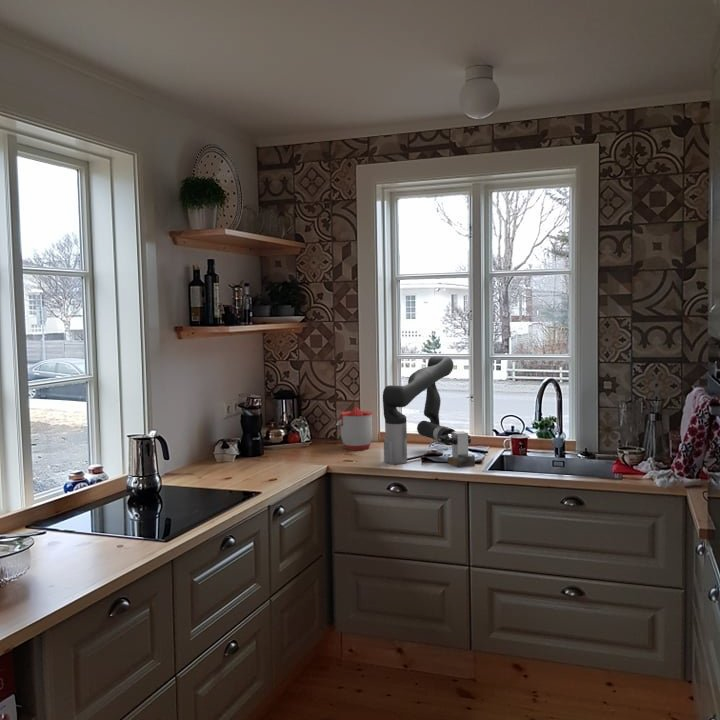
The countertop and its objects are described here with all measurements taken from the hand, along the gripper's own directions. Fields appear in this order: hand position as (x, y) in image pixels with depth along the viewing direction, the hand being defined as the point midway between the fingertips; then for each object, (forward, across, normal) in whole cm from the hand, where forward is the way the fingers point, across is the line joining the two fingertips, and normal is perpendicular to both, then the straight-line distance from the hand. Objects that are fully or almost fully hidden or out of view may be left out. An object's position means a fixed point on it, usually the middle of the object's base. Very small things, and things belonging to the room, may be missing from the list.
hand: (462, 441), depth 302 cm
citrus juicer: (-54, -29, +10) cm, 62 cm away
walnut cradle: (-2, 0, +10) cm, 10 cm away
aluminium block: (-3, 0, +8) cm, 8 cm away
